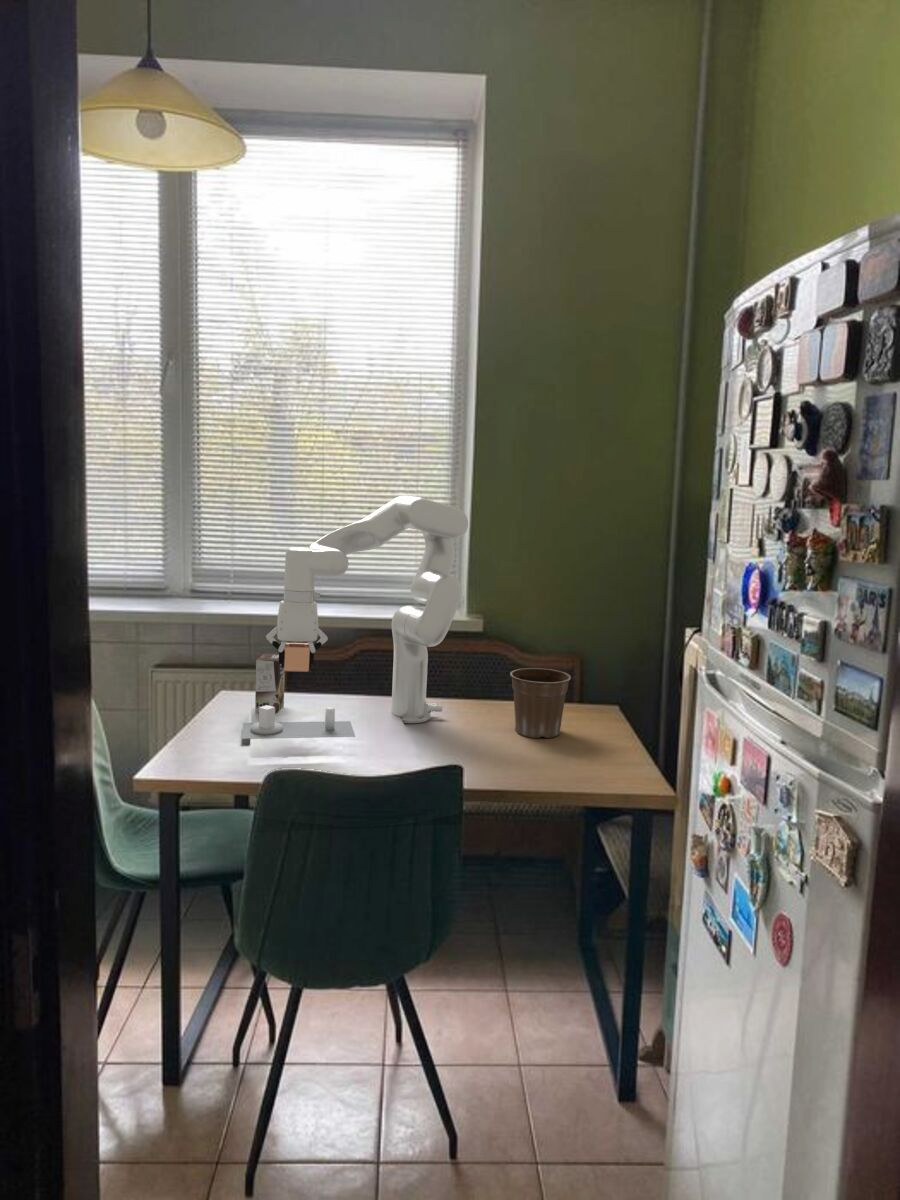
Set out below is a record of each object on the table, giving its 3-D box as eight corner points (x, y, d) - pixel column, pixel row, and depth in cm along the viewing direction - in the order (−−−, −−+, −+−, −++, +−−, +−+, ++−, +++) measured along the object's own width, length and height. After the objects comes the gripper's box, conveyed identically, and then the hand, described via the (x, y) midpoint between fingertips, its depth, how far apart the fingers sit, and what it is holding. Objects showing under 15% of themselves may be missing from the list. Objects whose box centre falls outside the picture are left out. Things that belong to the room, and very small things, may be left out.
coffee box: (277, 718, 237) (278, 660, 235) (254, 717, 238) (255, 659, 235) (284, 709, 246) (285, 653, 244) (262, 707, 247) (263, 652, 244)
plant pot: (497, 734, 234) (500, 675, 231) (520, 719, 248) (524, 664, 245) (553, 745, 226) (558, 685, 224) (574, 730, 240) (579, 673, 238)
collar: (307, 666, 224) (308, 643, 224) (308, 671, 219) (309, 648, 218) (283, 665, 223) (284, 642, 222) (284, 671, 217) (285, 647, 216)
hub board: (350, 726, 233) (351, 699, 232) (355, 742, 221) (356, 713, 220) (242, 728, 227) (243, 700, 226) (242, 744, 215) (242, 715, 214)
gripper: (332, 595, 224) (328, 664, 226) (263, 593, 220) (260, 663, 222) (334, 600, 217) (331, 670, 219) (264, 598, 213) (261, 669, 215)
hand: (295, 666), depth 221 cm, fingers closed on collar, 6 cm apart
